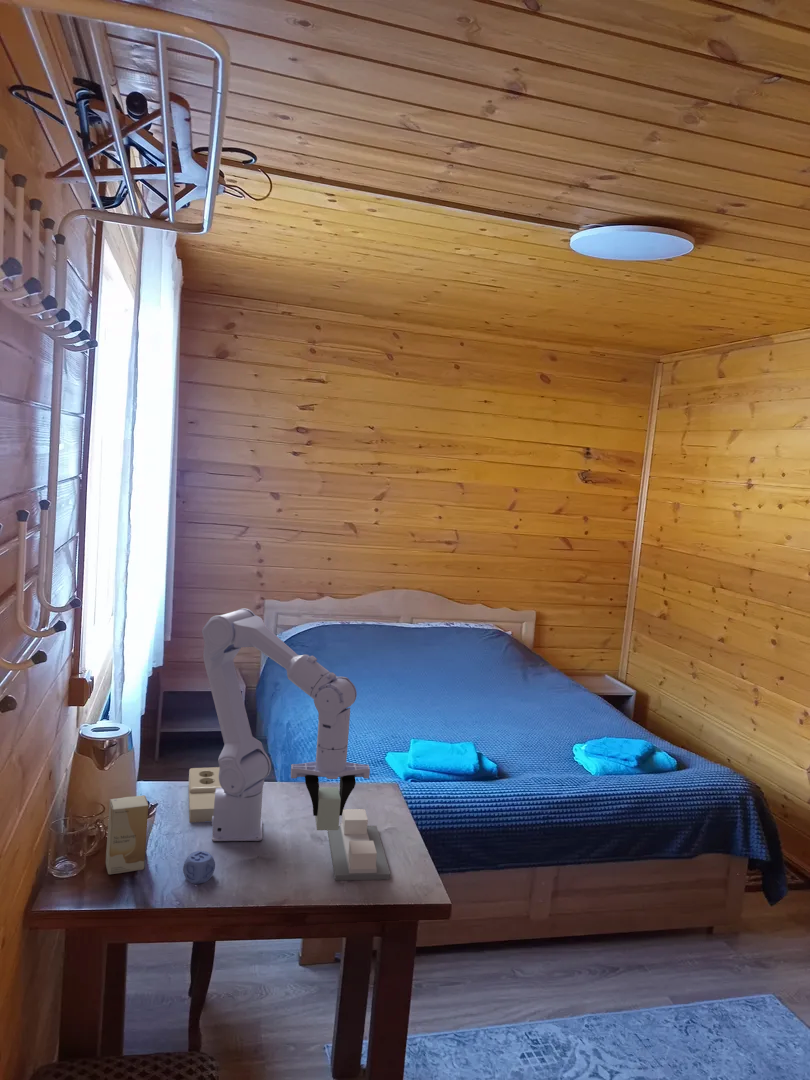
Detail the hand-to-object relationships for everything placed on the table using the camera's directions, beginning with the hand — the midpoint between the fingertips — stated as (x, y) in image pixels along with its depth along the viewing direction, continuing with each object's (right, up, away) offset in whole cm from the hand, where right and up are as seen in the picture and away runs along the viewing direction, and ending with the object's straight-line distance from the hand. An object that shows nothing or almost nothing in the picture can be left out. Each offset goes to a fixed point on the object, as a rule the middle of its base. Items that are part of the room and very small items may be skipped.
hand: (327, 813), depth 147 cm
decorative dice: (-22, -9, -9) cm, 25 cm away
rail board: (+5, -9, +4) cm, 11 cm away
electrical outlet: (-28, -5, +20) cm, 34 cm away
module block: (0, -2, 0) cm, 2 cm away
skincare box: (-35, -7, -7) cm, 37 cm away
